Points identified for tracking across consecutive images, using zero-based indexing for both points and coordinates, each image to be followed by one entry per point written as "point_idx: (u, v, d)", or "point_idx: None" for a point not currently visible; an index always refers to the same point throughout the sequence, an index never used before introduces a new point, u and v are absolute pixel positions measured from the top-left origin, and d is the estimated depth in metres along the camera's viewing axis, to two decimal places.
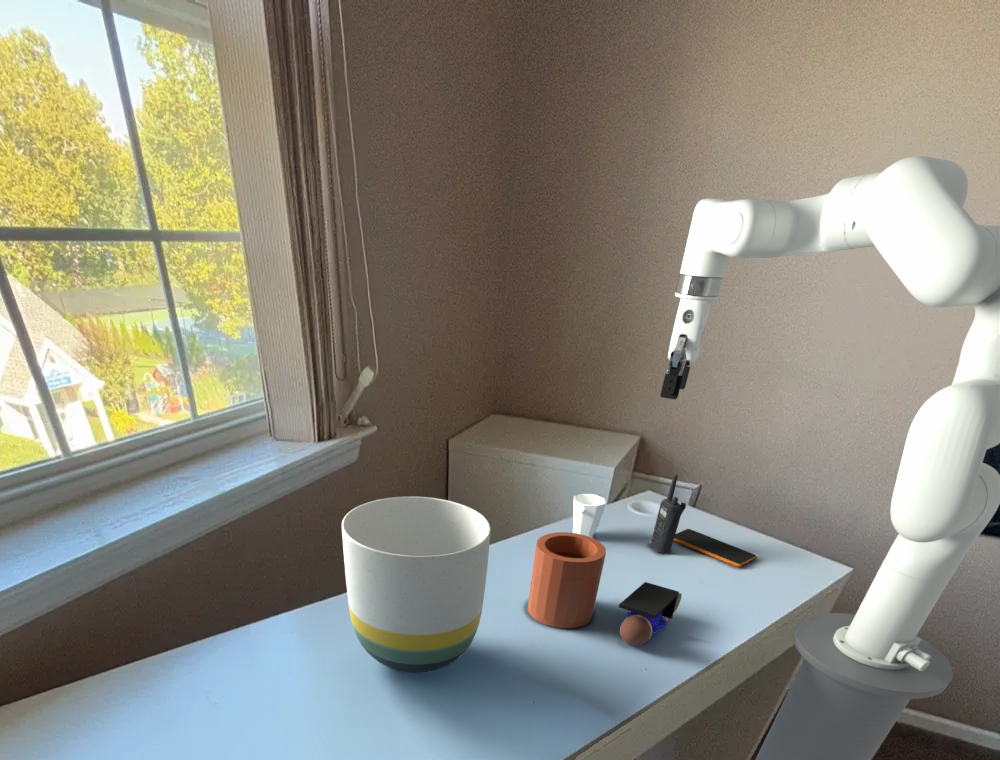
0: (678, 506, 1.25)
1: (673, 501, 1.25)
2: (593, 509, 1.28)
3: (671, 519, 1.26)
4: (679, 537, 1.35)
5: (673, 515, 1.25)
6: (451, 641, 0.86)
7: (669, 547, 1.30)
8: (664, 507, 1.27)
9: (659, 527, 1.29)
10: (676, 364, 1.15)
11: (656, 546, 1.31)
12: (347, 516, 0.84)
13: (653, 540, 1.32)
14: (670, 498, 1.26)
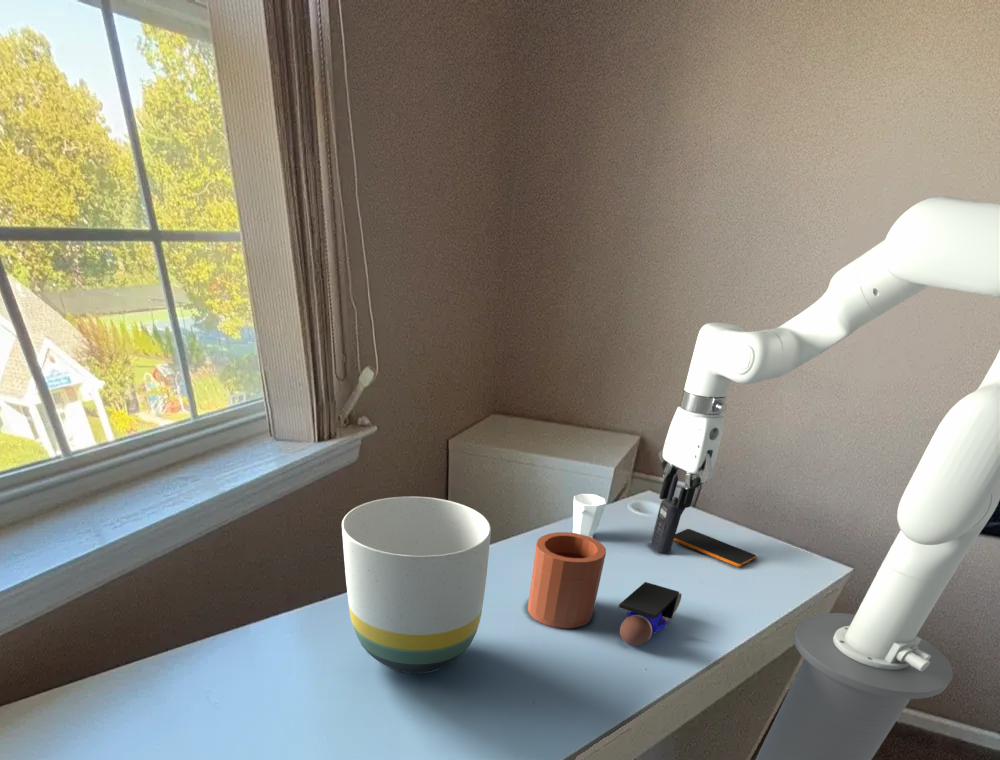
0: None
1: (673, 501, 1.25)
2: (593, 509, 1.28)
3: (671, 519, 1.26)
4: (679, 537, 1.35)
5: (673, 515, 1.25)
6: (451, 641, 0.86)
7: (669, 547, 1.30)
8: (664, 507, 1.27)
9: (659, 527, 1.29)
10: None
11: (656, 546, 1.31)
12: (347, 516, 0.84)
13: (653, 540, 1.32)
14: (670, 498, 1.26)
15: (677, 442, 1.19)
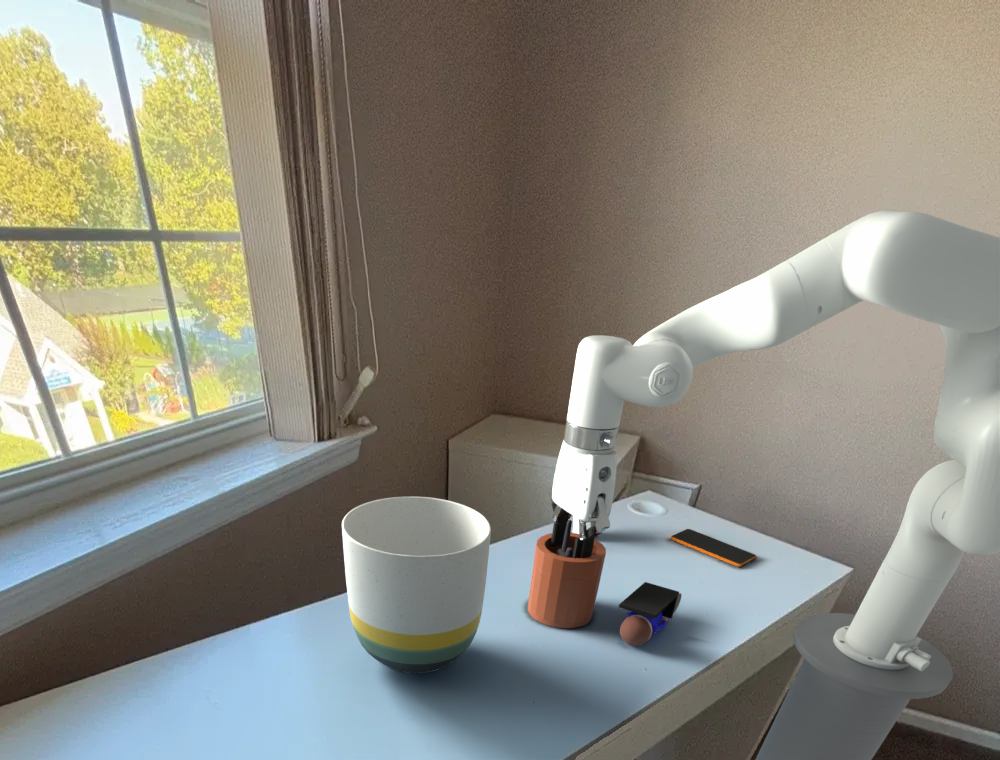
0: None
1: (567, 553, 1.01)
2: None
3: None
4: (679, 537, 1.35)
5: None
6: (451, 641, 0.86)
7: None
8: None
9: None
10: None
11: None
12: (347, 516, 0.84)
13: None
14: (565, 548, 1.03)
15: (565, 482, 0.96)
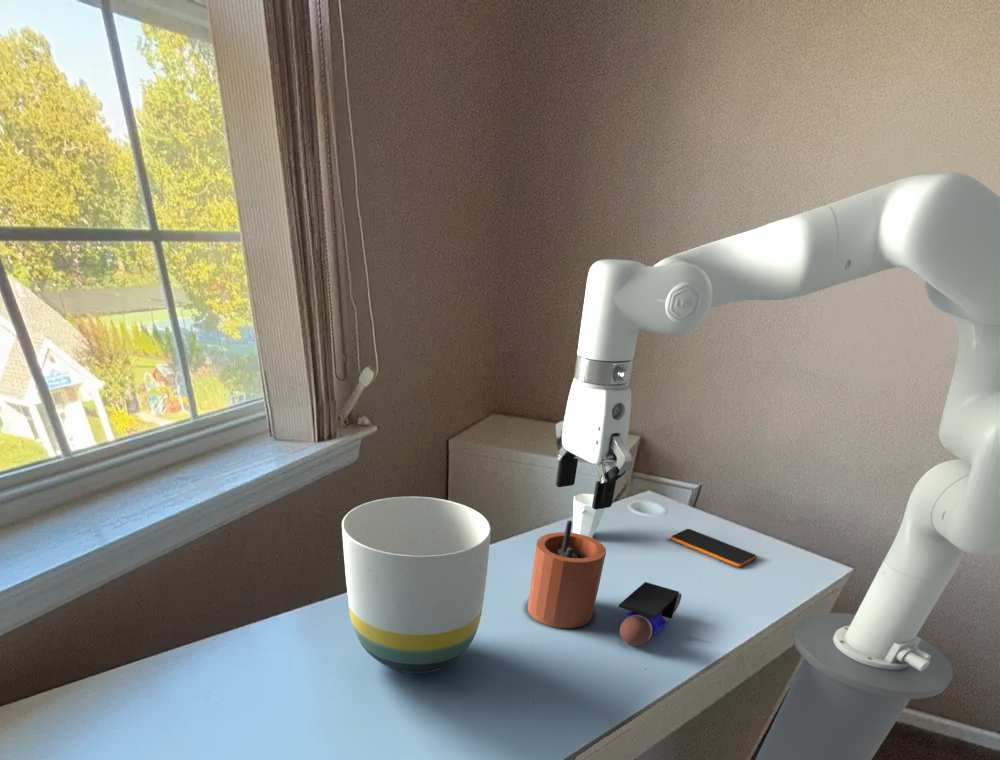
0: None
1: (567, 553, 1.01)
2: (593, 509, 1.28)
3: None
4: (679, 537, 1.35)
5: None
6: (451, 641, 0.86)
7: None
8: None
9: None
10: (623, 471, 0.88)
11: None
12: (347, 516, 0.84)
13: None
14: (565, 548, 1.03)
15: (575, 424, 0.91)
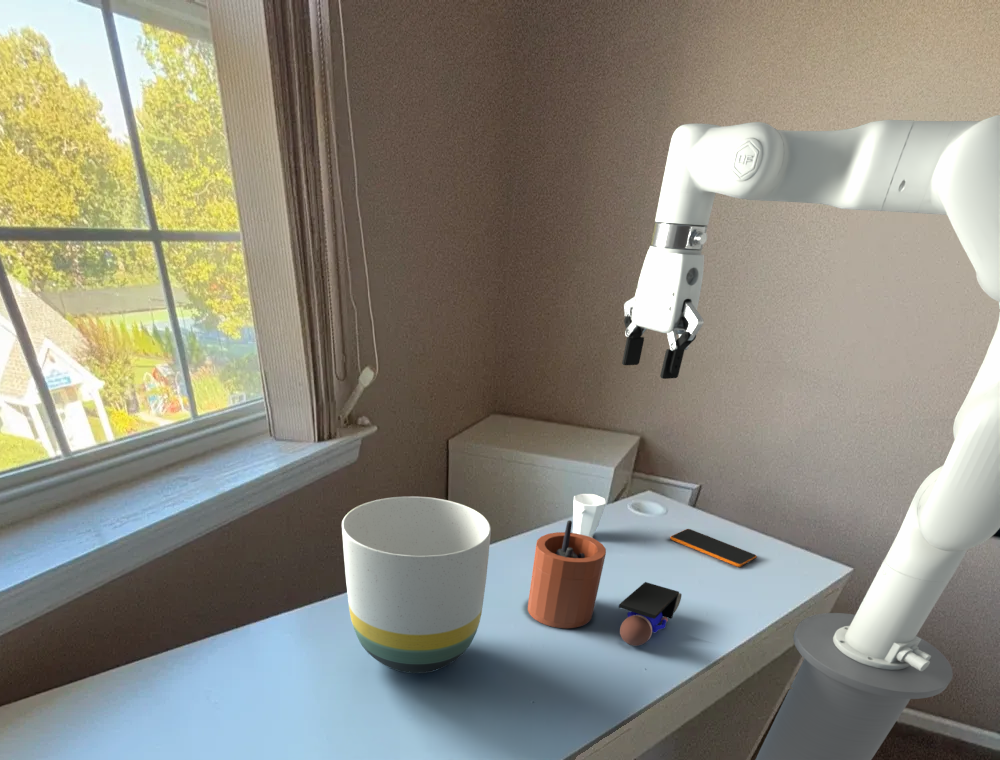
0: None
1: (567, 553, 1.01)
2: (593, 509, 1.28)
3: None
4: (679, 537, 1.35)
5: None
6: (451, 641, 0.86)
7: None
8: None
9: None
10: (693, 336, 0.94)
11: None
12: (347, 516, 0.84)
13: None
14: (565, 548, 1.03)
15: (648, 295, 0.97)
